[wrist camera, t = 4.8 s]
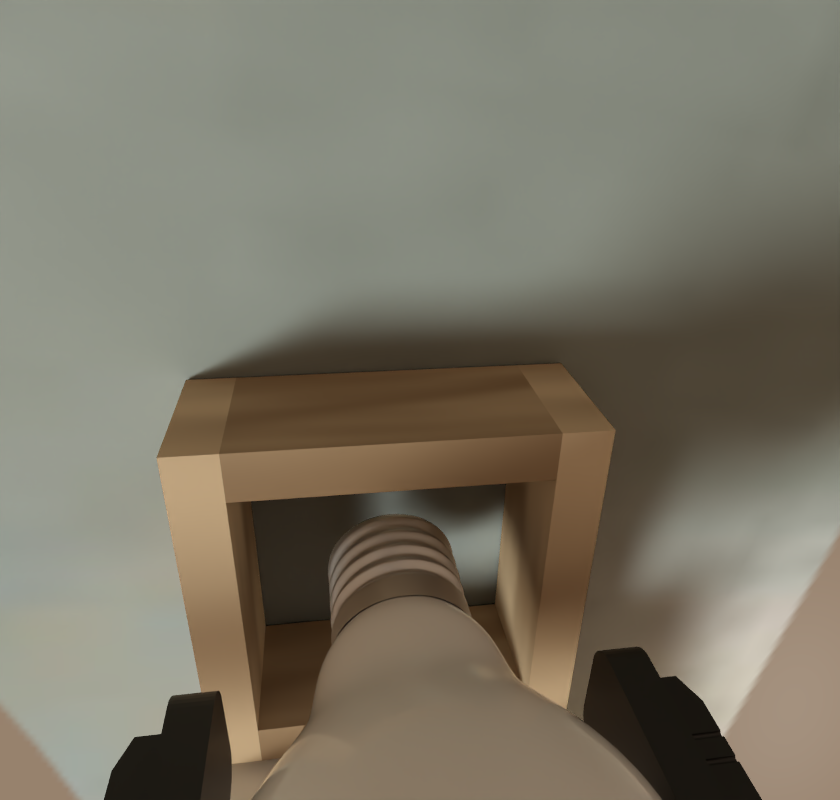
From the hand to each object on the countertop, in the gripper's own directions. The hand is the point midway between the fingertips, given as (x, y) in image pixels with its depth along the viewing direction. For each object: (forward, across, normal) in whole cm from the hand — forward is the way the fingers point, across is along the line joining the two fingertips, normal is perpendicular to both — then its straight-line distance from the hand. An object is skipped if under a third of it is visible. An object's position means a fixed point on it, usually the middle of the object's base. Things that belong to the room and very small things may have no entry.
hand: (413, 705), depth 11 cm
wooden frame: (+5, 0, 0) cm, 5 cm away
